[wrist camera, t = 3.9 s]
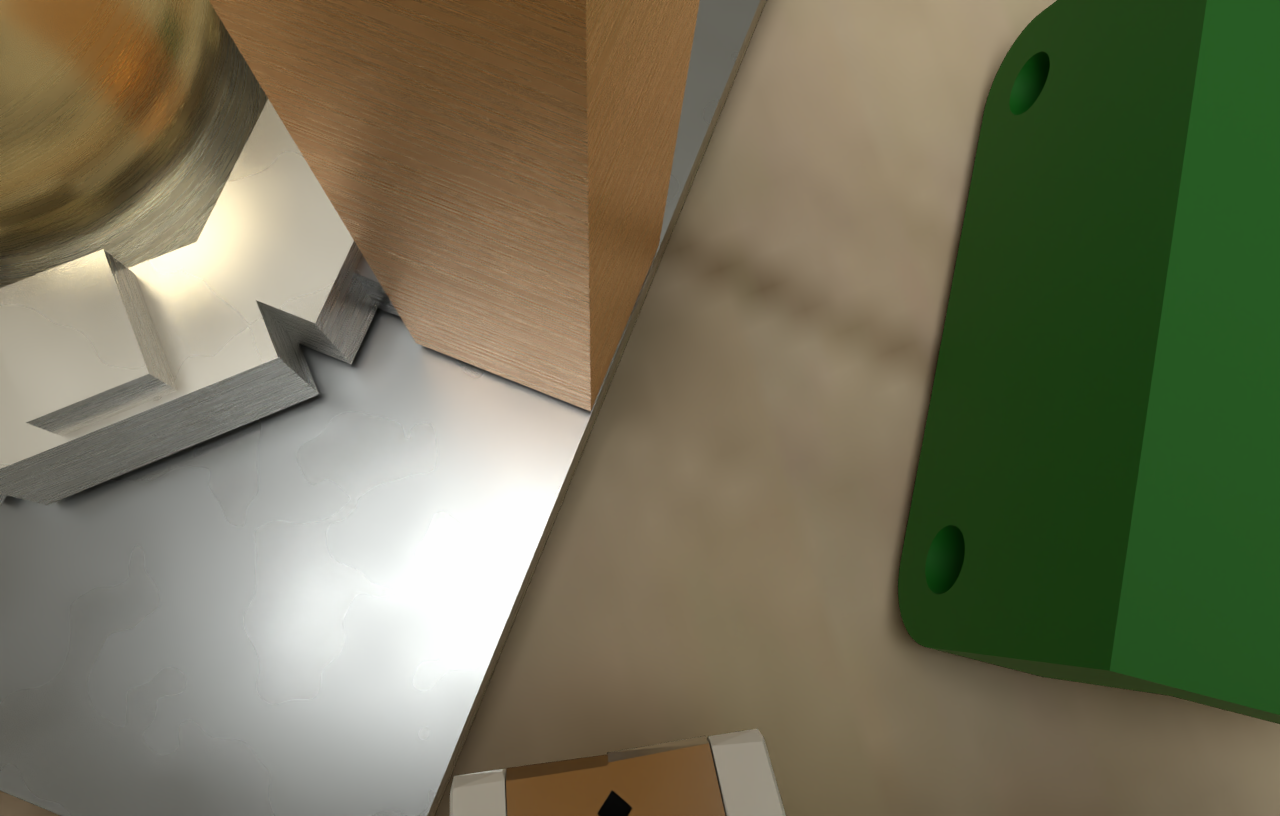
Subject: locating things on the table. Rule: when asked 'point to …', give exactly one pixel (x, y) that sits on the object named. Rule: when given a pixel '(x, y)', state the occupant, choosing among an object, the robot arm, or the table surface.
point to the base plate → (262, 477)
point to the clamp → (1114, 363)
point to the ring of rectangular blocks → (369, 226)
